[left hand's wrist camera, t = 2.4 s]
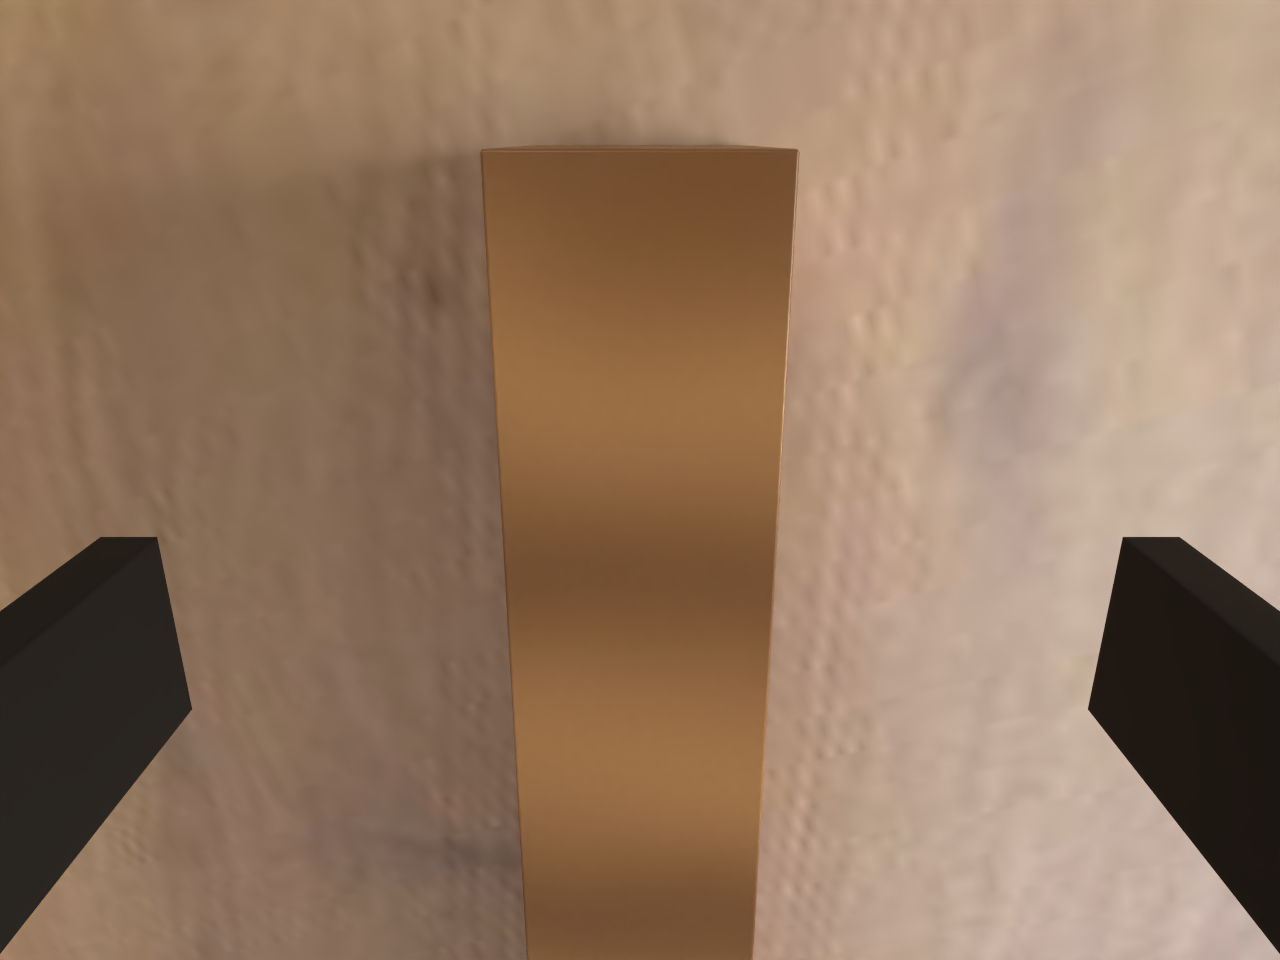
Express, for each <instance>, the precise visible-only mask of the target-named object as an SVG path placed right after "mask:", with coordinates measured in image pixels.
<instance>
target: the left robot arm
mask: <svg viewBox="0 0 1280 960" xmlns="http://www.w3.org/2000/svg"><path fill="white" fill-rule="evenodd" d="M191 710H192V707H191V702H190V697H189V692H188V687H187V682H186V677H185V672H184V667H183V662H182V657H181V653H180V648H179V643H178V638H177V633H176V628H175V623H174V618H173V613H172V608H171V603H170V599H169V594H168V589H167V584H166V579H165V574H164V569H163V564H162V559H161V554H160V549H159V545H158V540H157V537H100V538H99V539H97V540H96V541H95V542H93V543H92V544H91V545H89V546H88V547H87V548H85V549H84V550H83V551H81V552H80V553H78V554H77V555H76V556H74V557H73V558H72V559H70V560H69V561H68V562H66V563H65V564H64V565H62V566H61V567H60V568H58V569H57V570H56V571H54V572H53V573H51V574H50V575H49V576H47V577H46V578H45V579H43V580H42V581H41V582H39V583H38V584H37V585H35V586H34V587H33V588H31V589H30V590H28V591H27V592H26V593H24V594H23V595H22V596H20V597H19V598H18V599H16V600H15V601H14V602H12V603H11V604H10V605H8V606H7V607H5V608H4V609H3V610H1V611H0V953H1V952H2V951H3V950H4V948H5V947H6V946H7V944H8V943H9V942H10V941H11V939H12V938H13V937H14V935H15V934H16V933H17V932H18V930H19V929H20V928H21V927H22V925H23V924H24V923H25V921H26V920H27V919H28V918H29V916H30V915H31V914H32V913H33V911H34V910H35V909H36V907H37V906H38V905H39V904H40V902H41V901H42V900H43V899H44V897H45V896H46V895H47V893H48V892H49V891H50V890H51V888H52V887H53V886H54V884H55V883H56V882H57V881H58V879H59V878H60V877H61V876H62V874H63V873H64V872H65V870H66V869H67V868H68V867H69V865H70V864H71V863H72V862H73V860H74V859H75V858H76V856H77V855H78V854H79V853H80V851H81V850H82V849H83V848H84V846H85V845H86V844H87V842H88V841H89V840H90V839H91V837H92V836H93V835H94V834H95V832H96V831H97V830H98V828H99V827H100V826H101V825H102V823H103V822H104V821H105V819H106V818H107V817H108V816H109V814H110V813H111V812H112V811H113V809H114V808H115V807H116V805H117V804H118V803H119V802H120V800H121V799H122V798H123V797H124V795H125V794H126V793H127V791H128V790H129V789H130V788H131V786H132V785H133V784H134V783H135V781H136V780H137V779H138V777H139V776H140V775H141V774H142V772H143V771H144V770H145V769H146V767H147V766H148V765H149V763H150V762H151V761H152V760H153V758H154V757H155V756H156V754H157V753H158V752H159V751H160V749H161V748H162V747H163V746H164V744H165V743H166V742H167V740H168V739H169V738H170V737H171V735H172V734H173V733H174V732H175V730H176V729H177V728H178V726H179V725H180V724H181V723H182V721H183V720H184V719H185V718H186V716H187V715H188V714H189V712H190V711H191ZM1088 710H1089V711H1090V712H1091V714H1092V715H1093V716H1094V718H1095V719H1096V720H1097V721H1098V723H1099V724H1100V725H1101V726H1102V728H1103V729H1104V730H1105V732H1106V733H1107V734H1108V735H1109V737H1110V738H1111V739H1112V740H1113V742H1114V743H1115V744H1116V746H1117V747H1118V748H1119V749H1120V751H1121V752H1122V753H1123V754H1124V756H1125V757H1126V758H1127V760H1128V761H1129V762H1130V763H1131V765H1132V766H1133V767H1134V769H1135V770H1136V771H1137V772H1138V774H1139V775H1140V776H1141V777H1142V779H1143V780H1144V781H1145V783H1146V784H1147V785H1148V786H1149V788H1150V789H1151V790H1152V791H1153V793H1154V794H1155V795H1156V797H1157V798H1158V799H1159V800H1160V802H1161V803H1162V804H1163V805H1164V807H1165V808H1166V809H1167V811H1168V812H1169V813H1170V814H1171V816H1172V817H1173V818H1174V819H1175V821H1176V822H1177V823H1178V825H1179V826H1180V827H1181V828H1182V830H1183V831H1184V832H1185V834H1186V835H1187V836H1188V837H1189V839H1190V840H1191V841H1192V842H1193V844H1194V845H1195V846H1196V848H1197V849H1198V850H1199V851H1200V853H1201V854H1202V855H1203V856H1204V858H1205V859H1206V860H1207V862H1208V863H1209V864H1210V865H1211V867H1212V868H1213V869H1214V870H1215V872H1216V873H1217V874H1218V876H1219V877H1220V878H1221V879H1222V881H1223V882H1224V883H1225V884H1226V886H1227V887H1228V888H1229V890H1230V891H1231V892H1232V893H1233V895H1234V896H1235V897H1236V899H1237V900H1238V901H1239V902H1240V904H1241V905H1242V906H1243V907H1244V909H1245V910H1246V911H1247V913H1248V914H1249V915H1250V916H1251V918H1252V919H1253V920H1254V921H1255V923H1256V924H1257V925H1258V927H1259V928H1260V929H1261V930H1262V932H1263V933H1264V934H1265V935H1266V937H1267V938H1268V939H1269V941H1270V942H1271V943H1272V944H1273V946H1274V947H1275V948H1276V950H1277V951H1278V952H1279V953H1280V611H1279V610H1277V609H1276V608H1275V607H1273V606H1272V605H1270V604H1269V603H1268V602H1266V601H1265V600H1264V599H1262V598H1261V597H1260V596H1258V595H1257V594H1256V593H1254V592H1253V591H1252V590H1250V589H1249V588H1247V587H1246V586H1245V585H1243V584H1242V583H1241V582H1239V581H1238V580H1237V579H1235V578H1234V577H1233V576H1231V575H1230V574H1229V573H1227V572H1226V571H1224V570H1223V569H1222V568H1220V567H1219V566H1218V565H1216V564H1215V563H1214V562H1212V561H1211V560H1210V559H1208V558H1207V557H1206V556H1204V555H1203V554H1202V553H1200V552H1199V551H1197V550H1196V549H1195V548H1193V547H1192V546H1191V545H1189V544H1188V543H1187V542H1185V541H1184V540H1183V539H1181V538H1180V537H1123V540H1122V545H1121V549H1120V554H1119V559H1118V564H1117V569H1116V574H1115V579H1114V584H1113V589H1112V594H1111V599H1110V603H1109V608H1108V613H1107V618H1106V623H1105V628H1104V633H1103V638H1102V643H1101V648H1100V653H1099V657H1098V662H1097V667H1096V672H1095V677H1094V682H1093V687H1092V692H1091V697H1090V702H1089V707H1088Z"/></svg>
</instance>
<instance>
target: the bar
mask: <svg viewBox="0 0 1280 960" xmlns="http://www.w3.org/2000/svg"><path fill="white" fill-rule="evenodd" d="M798 168H799V150H797V149H787V148H772V147H758V146H522V147H507V148H493V149H483V150H481V170H482V188H483V205H484V222H485V239H486V257H487V274H488V291H489V308H490V326H491V343H492V360H493V378H494V395H495V412H496V429H497V447H498V464H499V481H500V499H501V516H502V533H503V550H504V568H505V585H506V602H507V620H508V637H509V654H510V671H511V689H512V706H513V723H514V741H515V758H516V775H517V792H518V810H519V827H520V844H521V862H522V879H523V896H524V913H525V931H526V948H527V960H753V947H754V929H755V912H756V895H757V877H758V860H759V843H760V826H761V808H762V791H763V774H764V756H765V739H766V722H767V704H768V687H769V670H770V653H771V635H772V618H773V601H774V583H775V566H776V549H777V531H778V514H779V497H780V480H781V462H782V445H783V428H784V410H785V393H786V376H787V359H788V341H789V324H790V307H791V289H792V272H793V255H794V237H795V220H796V203H797V186H798Z"/></svg>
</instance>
